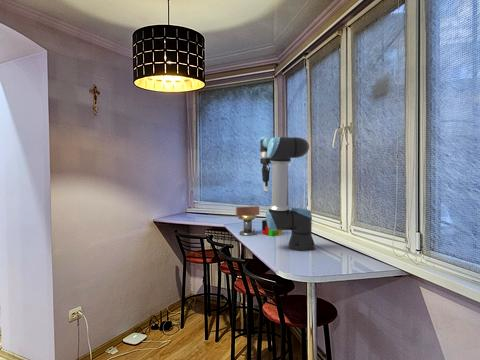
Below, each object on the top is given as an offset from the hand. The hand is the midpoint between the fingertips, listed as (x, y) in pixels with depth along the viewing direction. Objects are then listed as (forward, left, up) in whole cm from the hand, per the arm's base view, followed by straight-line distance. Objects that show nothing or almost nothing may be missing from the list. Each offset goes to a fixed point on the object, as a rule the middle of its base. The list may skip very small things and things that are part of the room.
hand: (265, 190), depth 224 cm
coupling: (+3, +13, -20) cm, 24 cm away
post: (+3, +13, -31) cm, 34 cm away
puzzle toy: (-1, -4, -32) cm, 32 cm away
